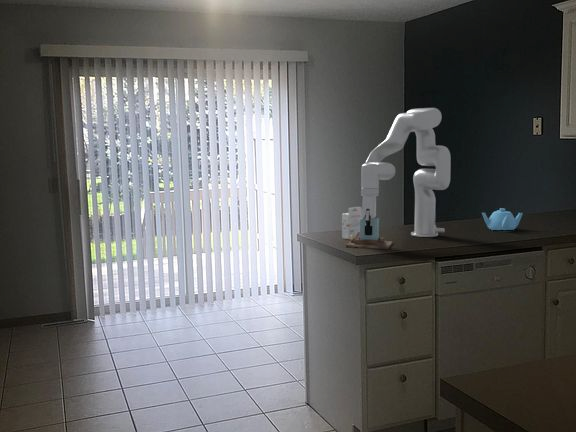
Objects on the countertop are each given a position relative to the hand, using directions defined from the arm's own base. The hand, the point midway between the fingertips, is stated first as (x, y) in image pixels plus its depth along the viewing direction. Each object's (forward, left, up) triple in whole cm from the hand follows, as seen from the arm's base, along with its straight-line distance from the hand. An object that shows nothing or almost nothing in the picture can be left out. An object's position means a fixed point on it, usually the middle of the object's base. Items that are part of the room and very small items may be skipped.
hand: (369, 233), depth 276 cm
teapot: (-57, -62, -5) cm, 84 cm away
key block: (0, 0, -2) cm, 2 cm away
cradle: (0, 0, -5) cm, 5 cm away
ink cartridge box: (+11, -18, -5) cm, 22 cm away
